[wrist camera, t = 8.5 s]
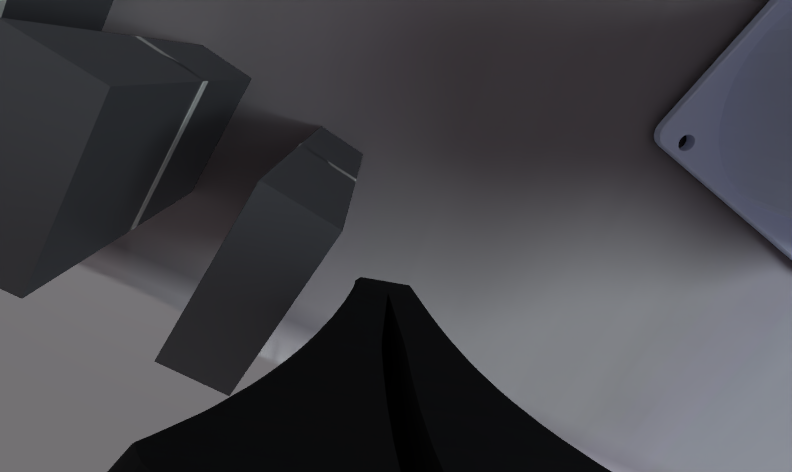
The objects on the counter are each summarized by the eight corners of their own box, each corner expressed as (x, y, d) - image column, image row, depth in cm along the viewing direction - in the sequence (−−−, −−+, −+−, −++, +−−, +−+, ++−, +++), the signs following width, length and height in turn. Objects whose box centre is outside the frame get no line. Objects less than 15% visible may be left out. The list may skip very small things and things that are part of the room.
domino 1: (252, 78, 13) (111, 87, 6) (191, 192, 14) (22, 298, 7) (202, 45, 12) (-4, 16, 6) (145, 165, 13) (-76, 252, 7)
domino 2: (363, 154, 14) (343, 231, 7) (297, 254, 15) (230, 396, 8) (320, 125, 13) (258, 178, 7) (257, 230, 14) (153, 360, 8)
